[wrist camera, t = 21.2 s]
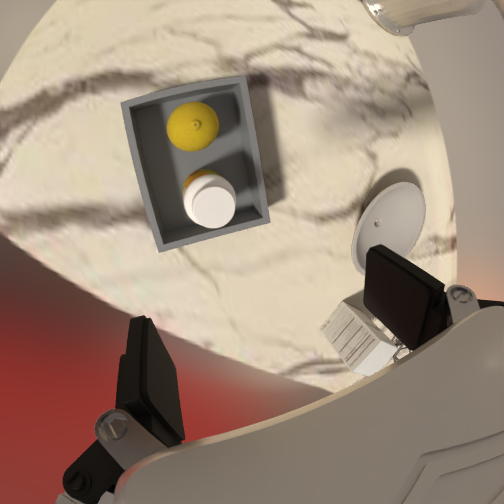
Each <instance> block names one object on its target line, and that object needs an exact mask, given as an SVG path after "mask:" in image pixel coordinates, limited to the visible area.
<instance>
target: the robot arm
mask: <svg viewBox="0 0 504 504" xmlns="http://www.w3.org/2000/svg"><path fill="white" fill-rule="evenodd" d="M485 1H486V0H362V2H363V4H364V6H365V8H366V9H367V11H368V13H369V14H370V15H371V17H372V18H373V19H374V20H375V21H376V22H377V23H378V24H379V25H380V26H381V27H382V28H384V29H385V30H386V31H388V32H390V33H392V34H394V35H397V36H405V35H408V34H410V33H412V31H413V29H414V25H417V24H421V23H426V22H430V21H435V20H441V19H446V18H453V17H459V16H467V15H474V14H477V13H478V12H480V11H481V10H482V8H483V6H484V4H485ZM492 1H493V2H494V4H495V5H496V7H497V8H498V10H499V12H500V14H501V16H502V18H503V20H504V0H492ZM444 287H445V284H443V283H442V282H440V281H439V280H437V279H436V278H434V277H433V276H431V275H430V274H428V273H427V272H425V271H424V270H422V269H421V268H419V267H418V266H416V265H415V264H413V263H411V262H410V261H408V260H407V259H405V258H404V257H402V256H400V255H399V254H397V253H395V252H394V251H392V250H391V249H389V248H387V247H386V246H384V245H382V244H379V245H376V246H373V247H370V248H369V250H368V252H367V253H366V269H365V286H364V305H365V307H366V308H367V309H368V310H369V311H370V312H371V313H372V314H373V315H374V316H375V317H376V318H377V319H378V320H380V321H381V322H382V323H383V324H384V325H385V326H386V327H387V328H388V329H389V330H390V331H391V332H392V333H393V334H394V335H395V336H396V337H397V338H398V339H399V340H400V341H401V342H402V343H403V344H404V345H405V346H406V347H407V348H408V349H409V350H411V351H412V350H413V351H412V352H411V353H409V354H408V355H406V356H404V357H403V358H401V359H399V360H398V361H396V362H394V363H392V364H391V365H389V366H387V367H385V368H384V369H382V370H380V371H378V372H376V373H375V374H373V375H371V376H369V377H367V378H365V379H363V380H361V381H359V382H357V383H355V384H353V385H351V386H349V387H347V388H345V389H343V390H341V391H339V392H336V393H334V394H332V395H330V396H328V397H325V398H323V399H321V400H318V401H317V402H314V403H311V404H309V405H306V406H304V407H301V408H299V409H297V410H294V411H291V412H288V413H286V414H283V415H280V416H277V417H275V418H272V419H269V420H266V421H263V422H260V423H256V424H253V425H250V426H247V427H243V428H240V429H237V430H233V431H230V432H226V433H223V434H219V435H215V436H211V437H208V438H203V439H199V440H196V441H192V442H188V443H184V444H182V443H181V441H183V440H185V434H184V427H183V421H182V414H181V408H180V400H179V391H178V382H177V375H176V374H177V373H176V368H175V365H174V363H173V361H172V359H171V357H170V355H169V353H168V352H167V350H166V348H165V346H164V344H163V342H162V340H161V338H160V336H159V334H158V332H157V330H156V328H155V326H154V323H153V321H152V319H151V318H146V317H145V316H144V315H143V316H139V317H135V318H131V319H130V325H129V333H128V339H127V349H126V354H123V355H122V356H121V358H120V363H119V373H118V381H117V392H116V406H115V409H111V410H108V411H106V412H105V413H103V414H102V415H101V416H100V417H99V418H98V419H97V422H96V423H95V429H94V430H95V435H96V437H97V440H96V441H95V442H94V443H93V444H92V445H91V446H90V447H89V448H88V449H87V450H86V451H85V452H84V453H83V454H82V455H81V456H80V457H79V458H78V459H77V460H76V461H75V462H74V463H73V464H72V465H71V466H70V467H69V468H68V469H67V470H66V471H65V473H64V476H63V486H64V489H65V492H64V494H61V493H60V494H59V496H58V498H57V500H56V502H55V504H504V302H502V301H491V300H479V299H477V298H476V296H475V294H474V292H473V291H472V290H471V289H469V288H468V287H465V286H463V285H453V286H450V287H449V288H448V289H447V292H444Z"/></svg>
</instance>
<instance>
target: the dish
mask: <svg viewBox="0 0 504 504" xmlns="http://www.w3.org/2000/svg"><path fill="white" fill-rule="evenodd" d="M425 212H426V207H425V199H424V196H423V194H422V192H421V190H420V189H419V188H418V187H417V186H416V185H415V184H413V183H411V182H397V183H394V184H392V185H390V186H388V187H387V188H385V189H384V190H382V191H381V192H380V193H379V194H378V195H377V196H376V197H375V198H374V199H373V200H372V201H371V203H370V204H369V205H368V207H367V208H366V209H365V211H364V213H363V214H362V216H361V218H360V220H359V222H358V225H357V227H356V230H355V233H354V236H353V241H352V249H351V255H352V261H353V264H354V266H355V268H356V269H357V271H358V272H359V273H361V274H362V275H365V269H366V253H367V252H368V250H369V248H370V247H373V246H376V245H379V244H382V245H384V246H386V247H387V248H389V249H391V250H392V251H394V252H395V253H397V254H399V255H400V256H402V257H404V258H406V257H407V256H408V254H409V253H410V252H411V250H412V249H413V247H414V246H415V244H416V242H417V240H418V238H419V236H420V234H421V231H422V228H423V224H424V220H425ZM376 219H377V223H376V224H375V221H376Z"/></svg>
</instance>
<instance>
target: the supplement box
mask: <svg viewBox="0 0 504 504" xmlns="http://www.w3.org/2000/svg"><path fill="white" fill-rule="evenodd" d="M320 331H321V332H322V333H323V334H324V336H325V337H326V338H327V340H328V341H329V342H330V344H331V345H332V346H333V348H334V349H335V350H336V352H337V353H338V354H339V356H340V357H341V358H342V360H343V361H344V362H345V364H346V365H347V366H348V368H349V369H350V370H351V372H352V373H356V374H361V375H365V376H371V375H373V374H375V373H376V372H378V371H380V369H381V368H382V367H383V366H384V365H385V364H386V363H387V362H388V361H389V359H390V358H391V357H392V356H393V355H394V354H395V352H396V351H397V350H398V347H397V346H396V345H395V344H394V343H393V342H392V341H391V340H390V339H389V338H388V337H387V336H386V335H385V334H384V333H383V332H382V331H381V330H380V329H379V328H378V327H377V326H376V325H375V324H374V323H373V322H372V321H371V320H370V319H369V318H368V317H367V316H366V315H365V314H364V313H363V312H362V311H359V310H357V309H356V308H354V307H352V306H350V305H349V304H347V303H346V302H344V301H342V302H341V303H340V304H339V306H338V307H337V308H336V309H335V311H334V312H333V313H332V314H331V316H330V317H329V318H328V319H327V321H326V322H325V323H324V324H323V326H322V327H321V328H320Z"/></svg>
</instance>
